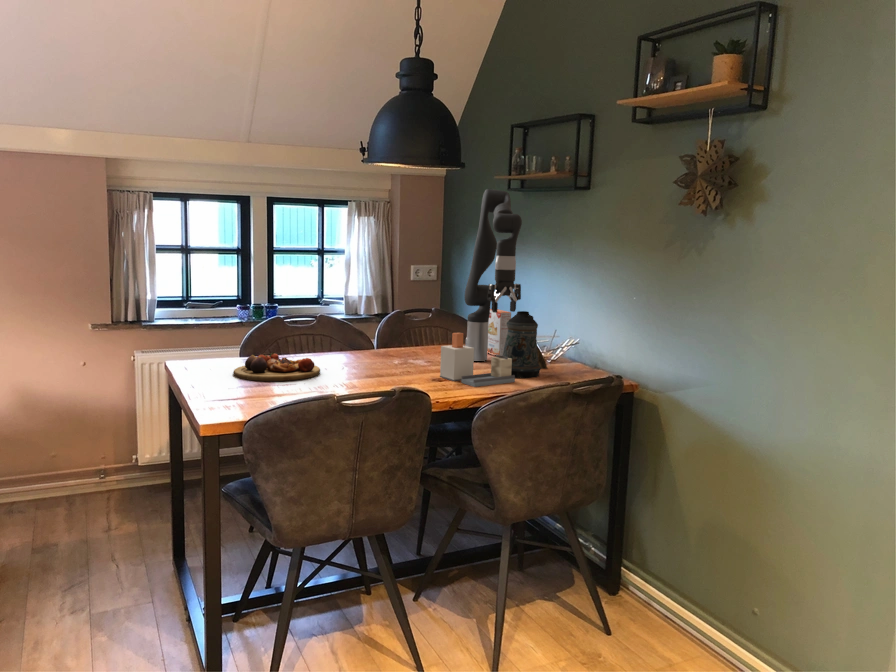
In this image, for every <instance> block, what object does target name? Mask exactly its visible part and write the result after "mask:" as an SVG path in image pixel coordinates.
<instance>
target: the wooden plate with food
mask: <svg viewBox="0 0 896 672" xmlns="http://www.w3.org/2000/svg"><path fill="white" fill-rule="evenodd" d="M320 373H321V368H320V367H319V366H317V365H315V362H314V361H313V360H312V359H311V358H309V357H306V358H302V359H297V360H293V359H288V358H287V357H281V359H280V357H279V355H278V353H274V352H271V353H269V354H263V353H261V354H259V355H257V356H255V355H254V354H251V355H250V356H249V357H247V359H246V360H245V362H244V365H242V366H239V367H237V368H234V369H233V376H235V377H236V378H237V379H238V378H239V379H241V380H246V381H247V380H248V381H257V382H280V381H281V382H282V381H283V382H284V381H286V382H287V381H297V380H304V379H309V378H312V377H316V376H318V375H319V374H320Z"/></svg>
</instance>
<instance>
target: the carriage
mask: <svg viewBox="0 0 896 672" xmlns="http://www.w3.org/2000/svg"><path fill="white" fill-rule="evenodd" d="M490 361H491V362H490V363H491V364H490V365H491V367H490V373H491V376H495V377H502V376H511V369H512V359H511V358H508V357H505V356H501V355H496V356H491V360H490Z"/></svg>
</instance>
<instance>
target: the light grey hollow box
mask: <svg viewBox="0 0 896 672" xmlns="http://www.w3.org/2000/svg"><path fill="white" fill-rule="evenodd" d="M439 370H440V371H439V378H442V379H445V380H448V381H452V382H459V381H460V382H461V380H462V376H468V375H474V348H472V347H468V346H466V345H464V344H463V348H454V347H452V344H451V345H449V344H448V345H441V346H440V369H439Z"/></svg>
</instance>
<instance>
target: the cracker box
mask: <svg viewBox="0 0 896 672" xmlns="http://www.w3.org/2000/svg"><path fill="white" fill-rule="evenodd" d="M511 318H512V311H507V310H502V309H498V310H497V313H494V312H492V308H490V316H489V325H488V352H490V353H493V354H496V355H501V356H502V355H503V351H504V347H505V342H506V337H507V332H508V328H507V322H508V321H509V320H510V319H511Z"/></svg>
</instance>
